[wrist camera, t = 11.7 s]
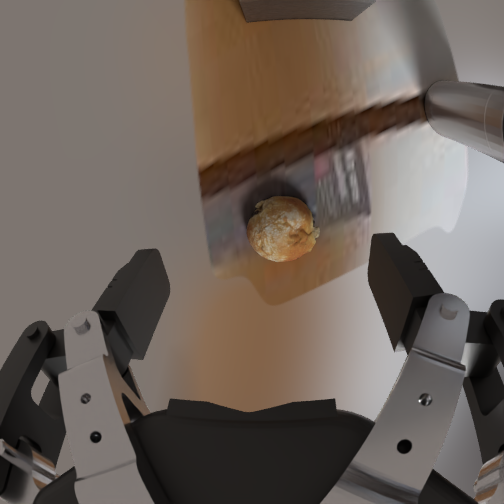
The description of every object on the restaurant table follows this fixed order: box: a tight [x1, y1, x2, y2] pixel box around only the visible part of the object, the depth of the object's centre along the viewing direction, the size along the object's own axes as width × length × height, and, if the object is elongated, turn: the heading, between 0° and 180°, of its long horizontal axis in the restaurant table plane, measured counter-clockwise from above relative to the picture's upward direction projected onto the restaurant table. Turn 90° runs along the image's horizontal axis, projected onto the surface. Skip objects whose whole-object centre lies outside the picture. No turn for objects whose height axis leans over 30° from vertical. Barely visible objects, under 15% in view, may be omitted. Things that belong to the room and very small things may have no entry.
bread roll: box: [247, 196, 320, 262], centre depth 41 cm, size 10×10×8 cm
